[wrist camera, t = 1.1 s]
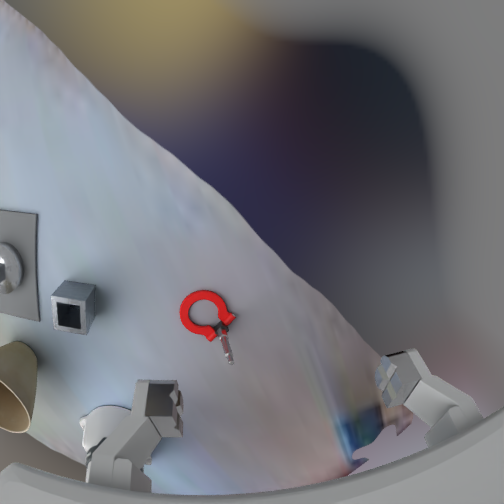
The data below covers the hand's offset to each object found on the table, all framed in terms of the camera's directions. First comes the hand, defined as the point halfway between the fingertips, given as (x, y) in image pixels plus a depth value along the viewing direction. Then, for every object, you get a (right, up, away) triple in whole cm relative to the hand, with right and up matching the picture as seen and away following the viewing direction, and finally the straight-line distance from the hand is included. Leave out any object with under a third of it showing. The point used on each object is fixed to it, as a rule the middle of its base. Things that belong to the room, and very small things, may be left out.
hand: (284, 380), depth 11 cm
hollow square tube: (-32, -3, +35) cm, 47 cm away
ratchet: (-52, +3, +27) cm, 59 cm away
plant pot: (-49, -17, +34) cm, 62 cm away
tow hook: (-10, -6, +42) cm, 44 cm away
